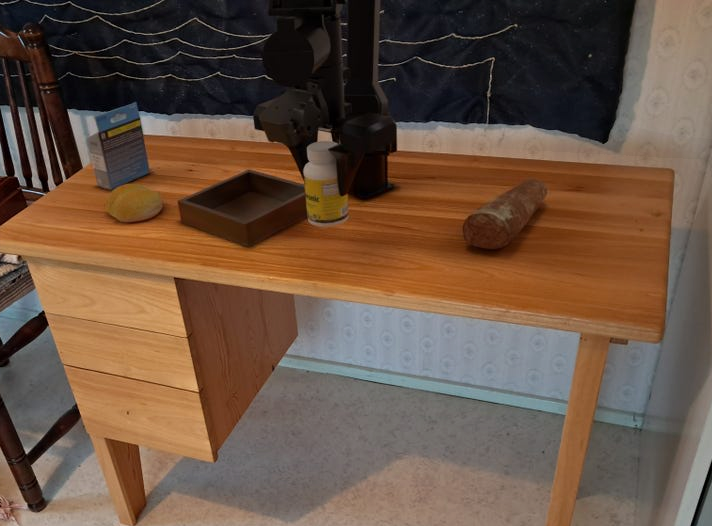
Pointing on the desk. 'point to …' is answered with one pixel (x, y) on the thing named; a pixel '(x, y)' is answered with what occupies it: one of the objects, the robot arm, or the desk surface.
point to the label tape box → (118, 148)
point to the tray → (245, 207)
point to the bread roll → (133, 203)
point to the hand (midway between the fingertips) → (326, 190)
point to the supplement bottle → (323, 187)
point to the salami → (504, 216)
